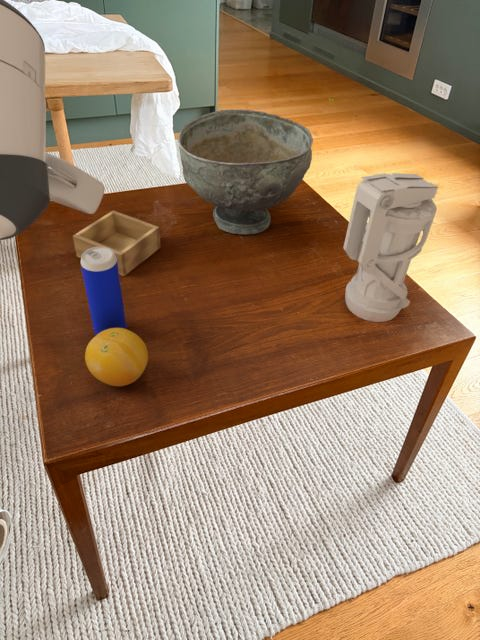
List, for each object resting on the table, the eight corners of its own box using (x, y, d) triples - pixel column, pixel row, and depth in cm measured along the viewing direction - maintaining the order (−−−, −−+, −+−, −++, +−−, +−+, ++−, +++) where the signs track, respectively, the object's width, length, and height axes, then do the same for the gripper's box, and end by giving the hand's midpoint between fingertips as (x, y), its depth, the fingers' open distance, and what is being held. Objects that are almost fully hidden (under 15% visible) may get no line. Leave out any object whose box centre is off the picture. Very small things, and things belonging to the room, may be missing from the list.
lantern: (376, 281, 95) (412, 156, 79) (413, 314, 89) (461, 184, 72) (320, 298, 91) (347, 169, 74) (355, 334, 84) (393, 200, 67)
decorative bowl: (296, 192, 120) (305, 107, 106) (311, 254, 101) (323, 161, 88) (187, 192, 119) (182, 107, 106) (181, 254, 101) (173, 161, 87)
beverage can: (133, 329, 82) (123, 253, 72) (110, 346, 79) (97, 270, 69) (110, 316, 84) (98, 241, 74) (87, 333, 81) (71, 256, 71)
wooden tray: (124, 276, 93) (121, 254, 89) (76, 256, 96) (72, 235, 93) (160, 247, 100) (159, 226, 97) (115, 230, 104) (112, 210, 101)
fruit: (80, 389, 72) (70, 350, 67) (103, 351, 78) (96, 312, 73) (137, 401, 71) (132, 363, 65) (157, 362, 77) (154, 324, 71)
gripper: (65, 137, 46) (138, 193, 59) (-84, 92, 52) (12, 151, 65) (40, 200, 46) (119, 242, 59) (-107, 148, 52) (-6, 196, 65)
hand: (61, 194), depth 62 cm, fingers open, 8 cm apart
